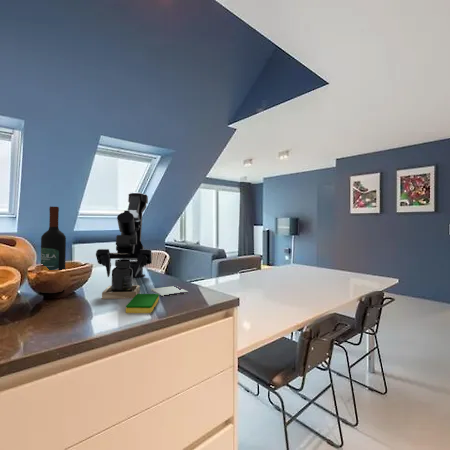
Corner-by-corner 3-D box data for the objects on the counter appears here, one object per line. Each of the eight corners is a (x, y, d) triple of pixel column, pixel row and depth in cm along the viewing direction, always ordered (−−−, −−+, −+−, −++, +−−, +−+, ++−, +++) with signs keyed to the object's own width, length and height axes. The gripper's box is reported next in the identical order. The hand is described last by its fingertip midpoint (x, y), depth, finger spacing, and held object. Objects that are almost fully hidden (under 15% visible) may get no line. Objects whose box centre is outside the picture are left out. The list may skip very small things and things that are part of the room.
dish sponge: (125, 314, 80) (125, 305, 80) (137, 300, 94) (137, 293, 94) (151, 314, 80) (151, 305, 80) (159, 301, 94) (159, 293, 94)
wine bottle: (69, 291, 103) (70, 207, 102) (46, 295, 96) (48, 205, 96) (58, 288, 107) (59, 207, 106) (35, 291, 100) (37, 206, 100)
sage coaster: (151, 290, 106) (151, 288, 106) (175, 287, 112) (175, 285, 112) (161, 296, 98) (161, 294, 98) (187, 293, 104) (187, 291, 104)
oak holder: (109, 291, 104) (109, 285, 104) (139, 290, 105) (139, 285, 105) (101, 299, 93) (101, 292, 93) (135, 298, 95) (135, 292, 95)
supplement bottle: (106, 295, 98) (107, 260, 98) (122, 291, 104) (123, 258, 104) (121, 298, 95) (121, 262, 95) (136, 293, 101) (137, 259, 101)
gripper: (97, 226, 101) (87, 261, 91) (151, 227, 105) (148, 261, 94) (102, 246, 109) (94, 281, 98) (153, 247, 112) (150, 280, 102)
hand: (121, 276), depth 98 cm, fingers open, 8 cm apart
